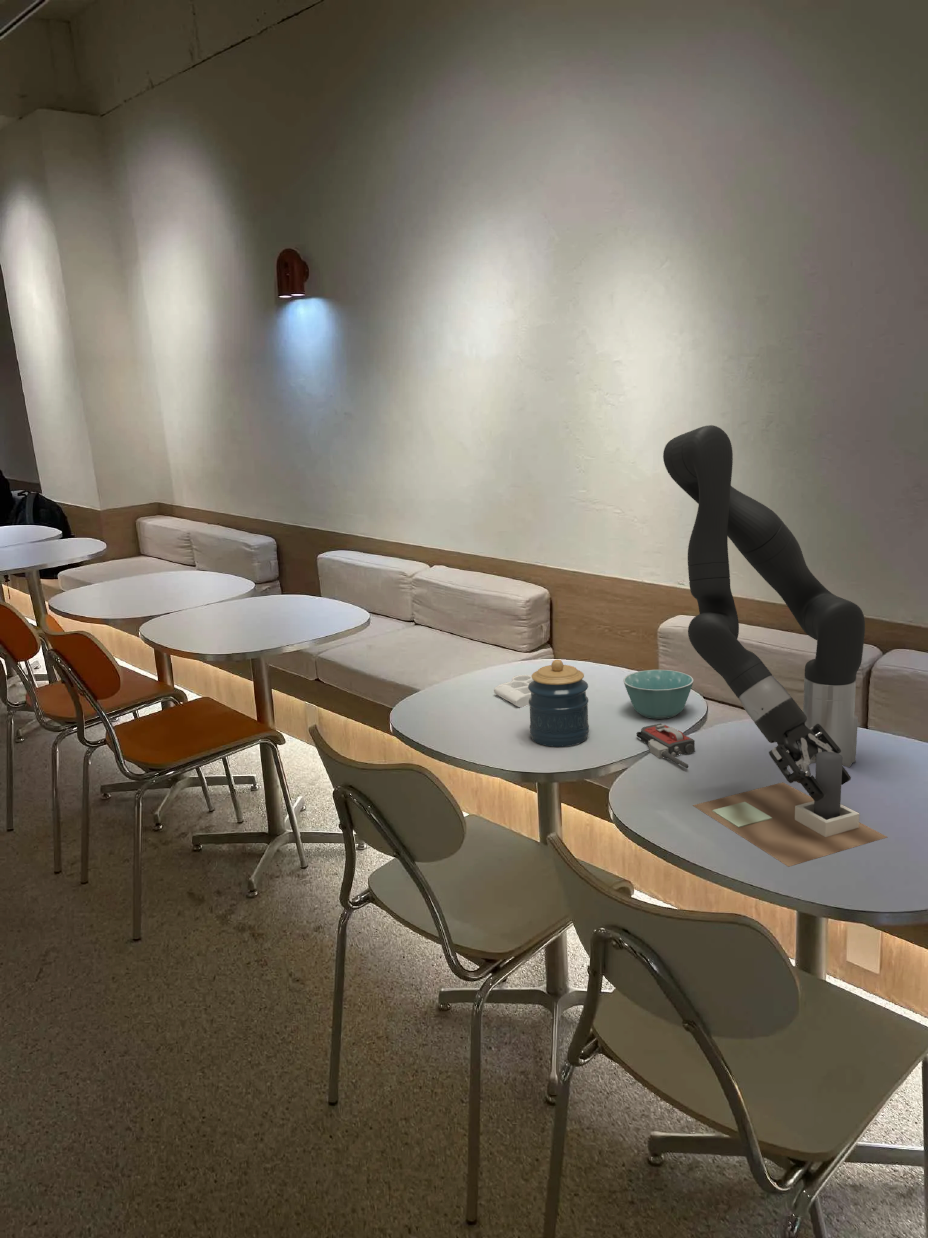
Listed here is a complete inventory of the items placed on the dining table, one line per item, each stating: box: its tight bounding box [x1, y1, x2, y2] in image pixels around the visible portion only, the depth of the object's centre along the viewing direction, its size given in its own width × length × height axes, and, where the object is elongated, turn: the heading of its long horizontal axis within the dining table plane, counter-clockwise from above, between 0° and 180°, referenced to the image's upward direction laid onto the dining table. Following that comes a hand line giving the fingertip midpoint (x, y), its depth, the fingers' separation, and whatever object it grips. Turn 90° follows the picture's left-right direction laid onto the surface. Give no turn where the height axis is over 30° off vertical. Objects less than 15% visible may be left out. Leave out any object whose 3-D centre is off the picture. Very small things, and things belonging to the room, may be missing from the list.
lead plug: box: [814, 752, 843, 820], centre depth 148 cm, size 4×4×12 cm
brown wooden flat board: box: [692, 782, 888, 868], centre depth 151 cm, size 20×24×2 cm
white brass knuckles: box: [493, 674, 533, 708], centre depth 225 cm, size 3×18×15 cm
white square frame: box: [795, 801, 861, 837], centre depth 149 cm, size 7×7×2 cm
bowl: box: [623, 669, 694, 720], centre depth 208 cm, size 16×16×8 cm
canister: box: [528, 659, 590, 748], centre depth 195 cm, size 13×13×18 cm
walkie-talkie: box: [636, 723, 696, 769], centre depth 186 cm, size 9×4×20 cm
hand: (834, 790), depth 147 cm, fingers open, 8 cm apart
